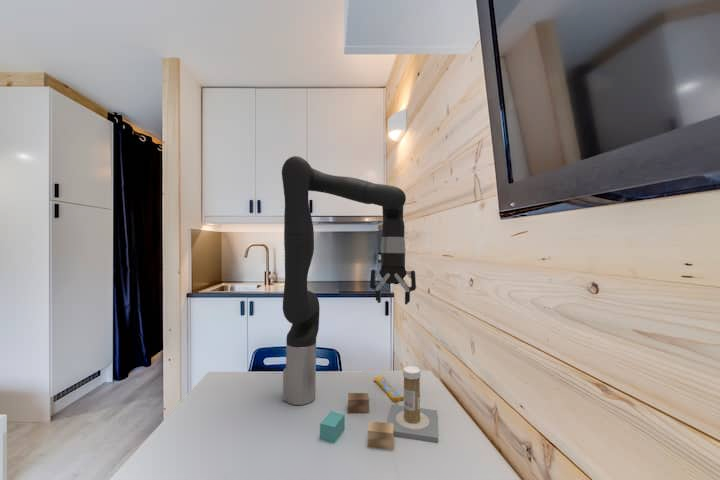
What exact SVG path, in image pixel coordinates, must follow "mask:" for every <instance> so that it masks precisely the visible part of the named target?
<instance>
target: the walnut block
mask: <svg viewBox="0 0 720 480" xmlns="http://www.w3.org/2000/svg"><path fill="white" fill-rule="evenodd" d="M369 397H370V395H369V393H368V392H360V393H359V392H348V395H347V414H370V398H369Z"/></svg>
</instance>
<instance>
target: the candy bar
mask: <svg viewBox="0 0 720 480" xmlns="http://www.w3.org/2000/svg"><path fill="white" fill-rule="evenodd" d="M373 381H374V382H375V383H376V385H378V387H379V388H380V390H382V391H383V392H384V393H385V395H386V394H387V395H386V396H387V397H388V398H389V399H390V400H391V402H392V403H397V402H401V401H404V396H401V395H400V394H399V393H398V392H397V391H396V390H395V388H393V387H392V386H391V384H390V383H389V382H388V381H387V380H386V378H385V377H384V376H378V377H374V378H373Z"/></svg>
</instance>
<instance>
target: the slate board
mask: <svg viewBox="0 0 720 480" xmlns="http://www.w3.org/2000/svg"><path fill="white" fill-rule="evenodd" d="M386 423H393V424H394V437H399V438H404V439H409V440H410V439H412V440H416V441H423V442H431V443H436V444H437V443H439V433H438V431H439V430H438V428H439V427H438V411H437V409H430V408H429V409H428V408H422V407H420V421H419V422H417V423H410V422H407V421H406V420H405V419H404V405H398V404H392V403H391V406H390V408H389V413H388V416H387V421H386Z"/></svg>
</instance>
